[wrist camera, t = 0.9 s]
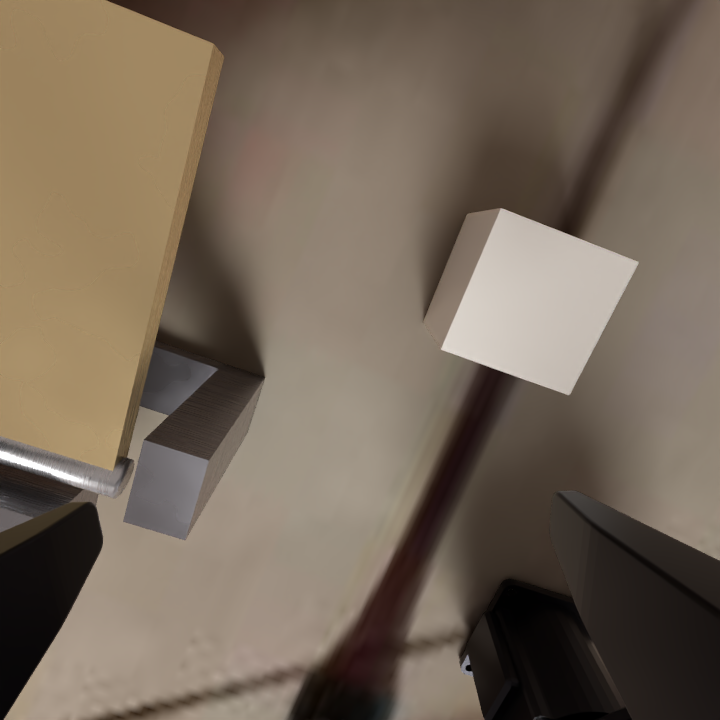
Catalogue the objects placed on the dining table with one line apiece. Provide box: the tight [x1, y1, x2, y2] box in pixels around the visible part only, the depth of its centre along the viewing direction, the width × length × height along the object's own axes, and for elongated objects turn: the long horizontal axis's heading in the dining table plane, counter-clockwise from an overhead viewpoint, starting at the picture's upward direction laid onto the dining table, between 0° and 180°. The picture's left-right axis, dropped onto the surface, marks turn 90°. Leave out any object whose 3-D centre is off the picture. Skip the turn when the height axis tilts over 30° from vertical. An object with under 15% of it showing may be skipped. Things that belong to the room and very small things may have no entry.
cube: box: [423, 208, 639, 395], centre depth 18 cm, size 5×5×5 cm
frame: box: [123, 340, 265, 540], centre depth 17 cm, size 17×3×8 cm, turn 70°
